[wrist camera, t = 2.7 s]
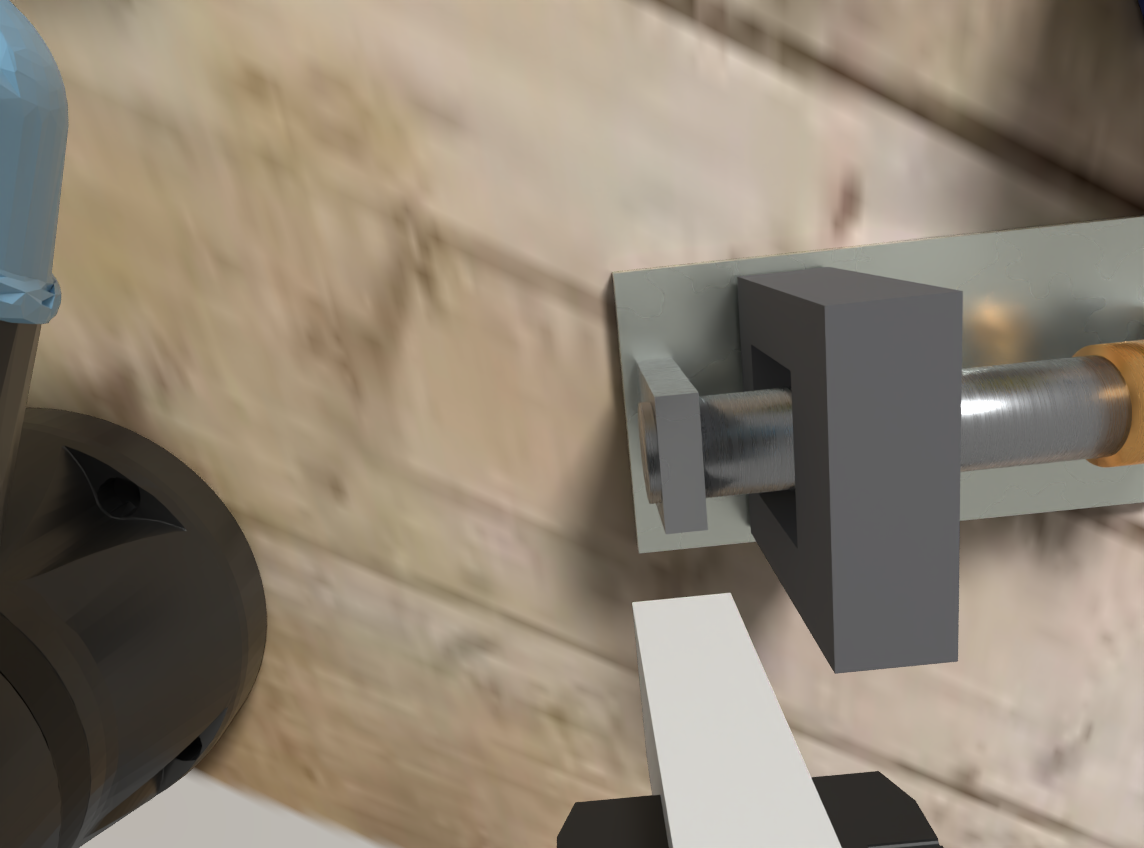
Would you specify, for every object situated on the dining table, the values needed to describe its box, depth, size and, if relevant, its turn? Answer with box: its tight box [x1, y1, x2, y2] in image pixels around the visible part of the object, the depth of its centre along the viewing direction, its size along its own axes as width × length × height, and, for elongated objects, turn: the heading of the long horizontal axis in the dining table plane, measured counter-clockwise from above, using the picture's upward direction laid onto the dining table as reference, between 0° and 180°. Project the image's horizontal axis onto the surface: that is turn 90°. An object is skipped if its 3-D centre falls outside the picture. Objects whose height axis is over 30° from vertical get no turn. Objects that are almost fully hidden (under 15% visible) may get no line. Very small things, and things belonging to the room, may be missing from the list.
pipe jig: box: [612, 215, 1144, 553], centre depth 25 cm, size 19×10×7 cm, turn 96°
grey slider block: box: [737, 267, 963, 673], centre depth 23 cm, size 3×9×9 cm, turn 6°
